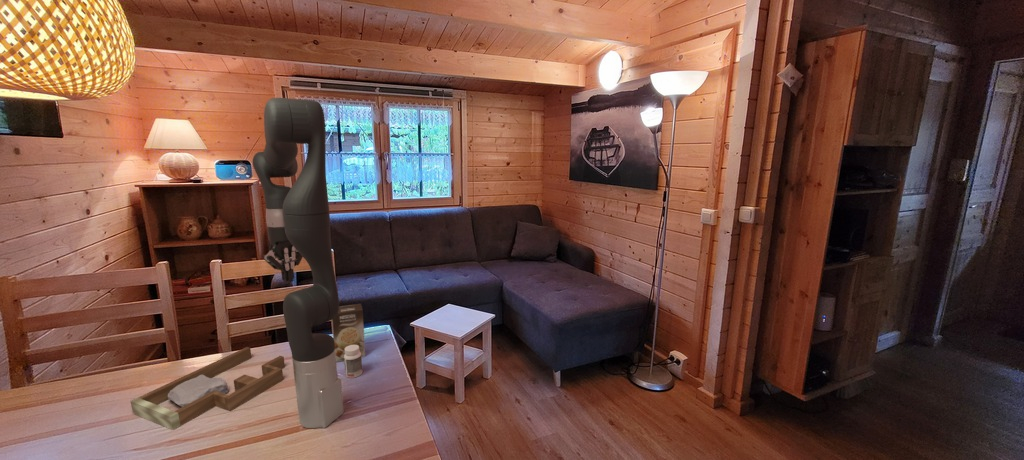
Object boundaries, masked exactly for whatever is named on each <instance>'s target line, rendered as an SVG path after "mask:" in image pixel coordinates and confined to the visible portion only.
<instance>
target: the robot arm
mask: <svg viewBox="0 0 1024 460" xmlns="http://www.w3.org/2000/svg"><path fill="white" fill-rule="evenodd" d="M263 112H264V113H263V127H264V128H263V129H264V141H265V146H264V149H263V151H258V152H256V153H255V154H254V156H253V158H252V167H253V169H254V171H255V174H256V176H257V178H258V180H259V182H260V184H261V187H262V191H263V195H264V203H265V222H266V229H267V238H268V242H269V243H270V244H269V251H268V252H267V253H266V254H263V255H262V257H261V258H262V259H263V261H265V263H267V264H268V265H269V266H271V267H272V268H273V269H274V270H277V271H280V273H281V280H282V282H284V283H286V284H289V283H292V282H294V279H295V271H294V268H295V267H296V266H299V265H300V263H301V261H302V259H303V258H304V260H305V261H306V263H307V264H308V266H309V267H310V270H311V275H312V283H313V284H312V286H308V287H305V288H302V289H298V290H295V291H292V292H289V293H287V294H286V295H285V296H284V299H283V304H282V311H283V317H284V324H285V327H286V334H287V341H288V345H289V349H290V352H291V358H292V359H291V360H292V366H293V367H292V368H293V375H294V377H293V378H294V385H295V396H296V403H297V411H298V420H299V424H300V426H301V427H303V428H307V429H318V428H323V429H325V428H326V427H328V426H329V425H331V424H332V423H333V422H335V420H337V419H339V417H340V416H342V415H343V414H344V413H345V411H344V401H343V390H342V388H343V387H342V379H341V378H338V369H337V367H338V366H337V362H336V354H335V342H334V339H333V335H331V334H327V333H320V332H318V333H316V332H315V333H313V331H312V328H314V327H315V328H316V327H317V326H320V325H323V324H325V323H327V322H330V321H332V319H334V318H335V317H336V316H337V314H338V311H339V306H340V299H339V291H338V286H337V280H336V274H335V269H334V268H335V267H334V261H333V251H332V249H333V248H332V241H331V240H332V239H331V238H332V237H331V218H330V205H329V198H328V197H329V196H328V195H329V194H328V186H327V185H328V184H327V170H326V168H327V167H326V162H327V161H326V136H327V135H326V119H325V112H324V108H323V106H322V105H321V103H320V102H319V101H317V100H311V99H301V98H298V99H297V98H288V97H287V98H285V97H272V98H270V99H268V100H267V101H266V103H265V106H264V111H263ZM298 144H299V145H300V144H301V145H307V153H306V154H307V155H306V159H305V163H304V165H303V167H302V169H301V171H300V173H299V175H298V177H297V178H296V180H295V181H294V182H293V184H292V186H287V185H279V184H276V183H274V182H272V180H271V179H274V178H275V179H277V178H278V179H279V178H291V177H294V176H295V175H296V174H297V173H298V168H299V167H298V166H299V165H298V161H297V156H298V154H299V153H298V152H299V148H298Z"/></svg>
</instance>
